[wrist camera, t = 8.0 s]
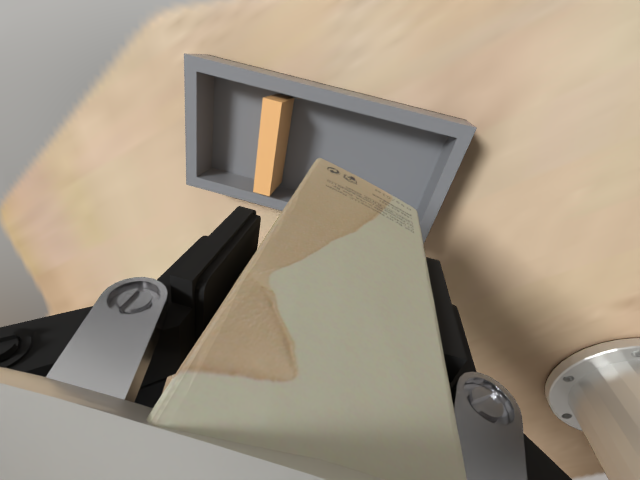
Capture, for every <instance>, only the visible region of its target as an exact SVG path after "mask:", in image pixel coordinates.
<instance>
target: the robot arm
mask: <svg viewBox="0 0 640 480" xmlns="http://www.w3.org/2000/svg"><path fill="white" fill-rule="evenodd" d="M260 221H261V217H260V216H258V215H256V211H255V210H252V209H248V208H245V207H241V206H239V207H237V208H236V209H235V210H234V211H233V212H232V213H231V214H230V215H229V216H228V217H227V218H226V219H225V220H224V221H223V222H222V223H221V224H220V225H219V226H218V227H217V228H216V229H215V230H214V231H213V232H212V233H211V234H210V235H209V236H202V237H201V238H200V239H199V240H198V241H197V242H196V243H195V244H194V245H193V246H191V247H190V248H189V249H188V250H187V251H186V252H185V253H184V254H183V255H182V256H181V257H180V258H179V259H178V260H177V261H176V262H175V263H174V264H173V265H172V266H171V267H170V268H169V269H168V270H167V271H166V272H165V273H164V274H163V275H161V276H160V277H159V278H158V279H157V280H155V279H152V278H146V277H135V278H129V279H125V280H122V281H119V282H117V283H115V284H113V285H111V286H110V287H108V288H107V289H106V290H105V291H104V292H103V293H102V294H101V296H100V297H99V298H98V300H97V301H96V303H95V304H94V306H92V307H87V308H83V309H79V310H74V311H70V312H66V313H61V314H57V315H52V316H48V317H44V318H39V319H35V320H31V321H27V322H22V323H18V324H13V325H9V326H6V327H1V328H0V480H385V479H382V478H378V477H375V476H372V475H369V474H366V473H362V472H359V471H356V470H353V469H350V468H346V467H343V466H340V465H337V464H333V463H330V462H327V461H324V460H320V459H315V458H310V457H306V456H300V455H295V454H290V453H285V452H280V451H275V450H270V449H265V448H260V447H255V446H251V445H246V444H241V443H236V442H231V441H227V440H222V439H217V438H212V437H208V436H203V435H198V434H193V433H188V432H183V431H179V430H173V429H168V428H163V427H158V426H154V425H152V424H150V423H149V422H148V421H147V416H148V415H149V413H150V412H151V410H152V409H153V407H154V406H155V404H156V403H157V401H158V400H159V398H160V397H161V395H162V394H163V392H164V391H165V389H166V388H167V386H168V385H169V383H170V381H171V379H172V375H174V374H176V372H177V371H178V369H179V368H180V366H181V365H182V363H183V362H184V360H185V359H186V357H187V356H188V354H189V353H190V351H191V350H192V348H193V347H194V345H195V344H196V342H197V341H198V339H199V338H200V336H201V335H202V333H203V332H204V330H205V329H206V327H207V325H208V324H209V322H210V321H211V319H212V318H213V316H214V315H215V313H216V312H217V310H218V309H219V307H220V306H221V304H222V303H223V301H224V300H225V298H226V296H227V295H228V293H229V292H230V290H231V289H232V287H233V286H234V284H235V283H236V281H237V279H238V278H239V276H240V275H241V273H242V272H243V270H244V269H245V267H246V266H247V264H248V263H249V261H250V260H251V258H252V257H253V255H254V254H255V252H256V251H257V246H258V237H259V229H260ZM426 261H427V267H428V272H429V278H430V283H431V288H432V293H433V298H434V303H435V309H436V315H437V320H438V326H439V331H440V337H441V343H442V348H443V354H444V359H445V364H446V369H447V374H448V379H449V384H450V390H451V396H452V402H453V407H454V412H455V417H456V423H457V429H458V434H459V439H460V444H461V450H462V455H463V461H464V467H465V472H466V477H467V480H572V479H571V478H570V477H569V476H568V475H567V474H566V473H565V472H563V471H562V470H561V469H560V468H559V467H558V466H557V465H556V464H555V463H554V462H553V461H552V460H551V459H550V458H549V457H548V456H547V455H546V454H545V453H544V452H543V451H542V450H540V449H539V448H538V447H537V446H536V445H535V444H534V443H533V442H532V441H531V440H530V439H529V438H528V437H527V436H526V435H525V434H524V433H523V423H522V415H521V412H520V408H519V406H518V404H517V403H516V401H515V399H514V398H513V396H512V395H511V394H510V393H509V392H508V390H507V389H506V388H504V387H503V386H502V385H501V384H500V383H499V382H497V381H496V380H494V379H492V378H491V377H489V376H487V375H484V374H482V373H477V372H476V369H475V366H474V363H473V359H472V356H471V352H470V349H469V346H468V342H467V339H466V336H465V332H464V329H463V326H462V322H461V319H460V315H459V312H458V309H457V307H456V306H455V305H452V304H451V300H450V296H449V293H448V289H447V286H446V282H445V279H444V275H443V271H442V268H441V264H440V261H438V260H435V259H431V258H427V257H426ZM545 396H546V399H547V401H548V403H549V405H550V407H551V409H552V411H553V413H554V414H555V415H556V416H557V417H558V418H559V419H560V420H562V421H563V422H565V423H566V424H567V425H569V426H572V427H574V428H576V429H578V430H581V431H583V432H584V434H585V436H586V438H587V440H588V442H589V444H590V446H591V447H592V449H593V451H594V453H595V455H596V457H597V459H598V460H599V462H600V464H601V466H602V468H603V470H604V472H605V474H606V475H607V477H608V479H609V480H640V338H629V339H619V340H614V341H609V342H604V343H600V344H597V345H594V346H591V347H588V348H585V349H583V350H581V351H579V352H577V353H575V354H573V355H571V356H570V357H568V358H567V359H565V360H564V361H562V362H561V363H560V364H559V365H558V366H557V367H556V368H555V369H554V370H553V371H552V372H551V374H550V375H549V377H548V379H547V382H546V385H545Z"/></svg>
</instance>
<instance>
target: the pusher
mask: <svg viewBox="0 0 640 480" xmlns="http://www.w3.org/2000/svg"><path fill="white" fill-rule="evenodd" d="M293 104H294V97H290V96H286V95H282V94H278V93H277V94H274V95H270V96H267V97H263V101H262V110H261V120H260V130H259V139H258V149H257V159H256V168H255V178H254V188H253V192H255V193H259V194H262V195H266V196H270V195H271V194H272V193H273V192H274V191H275V189H276V188H277V187H278V186H279V185H280V184H281V182H282V176H283V170H284V163H285V157H286V150H287V144H288V137H289V131H290V124H291V117H292V111H293Z"/></svg>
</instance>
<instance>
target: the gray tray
mask: <svg viewBox="0 0 640 480" xmlns="http://www.w3.org/2000/svg"><path fill="white" fill-rule="evenodd" d="M184 77H185V133H186V184H187V185H190V186H194V187H198V188H201V189H205V190H208V191H212V192H216V193H219V194H223V195H227V196H230V197H234V198H237V199H241V200H245V201H248V202H252V203H256V204H259V205H263V206H266V207H270V208H274V209H277V210H281V211H283V209H284V208H285V206H286V205H287V203H288V202H289V200H290V199H291V197H292V196H293V194H294V193H295V191H296V190H297V188H298V187H299V185H300V184H301V182H302V181H303V179H304V177H305V176H306V174H307V173H308V171H309V169H310V168H311V166H312V165H313V163H314V162H315V161H316V159H318V158H322V159H324V160H326V161H328V162H330V163H332V164H334V165H336V166H338V167H340V168H342V169H344V170H346V171H348V172H350V173H352V174H354V175H356V176H358V177H360V178H362V179H364V180H366V181H367V182H369V183H371V184H373V185H375V186H377V187H378V188H380V189H382V190H384V191H386V192H387V193H389V194H391V195H392V196H394V197H396V198H398V199H400V200H401V201H403V202H404V203H406V204H408V205H410V206H411V207H413V208H414V209H415V210H416V211H417V213H418V218H419V224H420V228H421V234H422V239H423V244H424V242H425V240H426V238H427V236H428V233H429V231H430V229H431V227H432V225H433V222H434V220H435V218H436V216H437V214H438V212H439V209H440V207H441V205H442V203H443V201H444V198H445V196H446V194H447V192H448V190H449V187H450V185H451V183H452V181H453V179H454V177H455V174H456V172H457V170H458V168H459V166H460V163H461V161H462V159H463V157H464V155H465V153H466V150H467V148H468V146H469V144H470V142H471V139H472V137H473V135H474V133H475V131H476V127H475V126H474V125H472V124H471V123H469V122H468V121H467V120H465V119H461V118H457V117H453V116H449V115H445V114H441V113H437V112H433V111H429V110H425V109H421V108H417V107H413V106H409V105H405V104H401V103H397V102H393V101H389V100H386V99H382V98H378V97H374V96H370V95H366V94H362V93H358V92H354V91H350V90H346V89H342V88H338V87H334V86H330V85H326V84H322V83H318V82H314V81H310V80H306V79H302V78H298V77H295V76H291V75H287V74H283V73H279V72H275V71H271V70H267V69H263V68H259V67H255V66H251V65H247V64H243V63H239V62H235V61H231V60H227V59H223V58H219V57H215V56H211V55H204V54H184ZM277 93H278V94H282V95H286V96H290V97H294V104H293V111H292V117H291V124H290V131H289V137H288V144H287V150H286V157H285V163H284V170H283V176H282V182H281V184H280V185H279V186H278V187H277V188H276V189H275V191H274V192H273V193H272V194H271V195H270V196H266V195H262V194H259V193H255V192H253V188H254V178H255V168H256V159H257V149H258V139H259V130H260V120H261V110H262V101H263V97H267V96H270V95H274V94H277Z"/></svg>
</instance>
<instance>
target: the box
mask: <svg viewBox="0 0 640 480" xmlns="http://www.w3.org/2000/svg"><path fill="white" fill-rule="evenodd" d="M147 421H148V422H149V423H150V424H152V425H154V426H158V427H163V428H168V429H173V430H179V431H183V432H188V433H193V434H198V435H203V436H208V437H212V438H217V439H222V440H227V441H231V442H236V443H241V444H246V445H251V446H255V447H260V448H265V449H270V450H275V451H280V452H285V453H290V454H295V455H300V456H306V457H310V458H315V459H320V460H324V461H327V462H330V463H333V464H337V465H340V466H343V467H346V468H350V469H353V470H356V471H359V472H362V473H366V474H369V475H372V476H375V477H378V478H382V479H385V480H467V477H466V472H465V467H464V461H463V455H462V450H461V444H460V439H459V434H458V429H457V423H456V417H455V412H454V407H453V402H452V396H451V390H450V384H449V379H448V374H447V369H446V364H445V359H444V354H443V348H442V343H441V337H440V331H439V326H438V320H437V315H436V309H435V303H434V298H433V293H432V288H431V283H430V278H429V272H428V267H427V261H426V255H425V251H424V244H423V239H422V234H421V228H420V224H419V218H418V213H417V211H416V210H415V209H414V208H413V207H411V206H410V205H408V204H406V203H404V202H403V201H401V200H400V199H398V198H396V197H394V196H392V195H391V194H389V193H387V192H386V191H384V190H382V189H380V188H378V187H377V186H375V185H373V184H371V183H369V182H367V181H366V180H364V179H362V178H360V177H358V176H356V175H354V174H352V173H350V172H348V171H346V170H344V169H342V168H340V167H338V166H336V165H334V164H332V163H330V162H328V161H326V160H324V159H322V158H318V159H316V161H315V162H314V163H313V165H312V166H311V168H310V169H309V171H308V173H307V174H306V176H305V177H304V179H303V181H302V182H301V184H300V185H299V187H298V188H297V190H296V191H295V193H294V194H293V196H292V197H291V199H290V200H289V202H288V203H287V205H286V206H285V208H284V209H283V211H282V212H281V214H280V215H279V217H278V218H277V220H276V221H275V223H274V224H273V226H272V227H271V229H270V231H269V232H268V234H267V235H266V237H265V238H264V240H263V241H262V243H261V244H260V246H259V248H258V249H257V251H256V252H255V254H254V255H253V257H252V258H251V260H250V261H249V263H248V264H247V266H246V267H245V269H244V270H243V272H242V273H241V275H240V276H239V278H238V279H237V281H236V283H235V284H234V286H233V287H232V289H231V290H230V292H229V293H228V295H227V296H226V298H225V300H224V301H223V303H222V304H221V306H220V307H219V309H218V310H217V312H216V313H215V315H214V316H213V318H212V319H211V321H210V322H209V324H208V325H207V327H206V329H205V330H204V332H203V333H202V335H201V336H200V338H199V339H198V341H197V342H196V344H195V345H194V347H193V348H192V350H191V351H190V353H189V354H188V356H187V357H186V359H185V360H184V362H183V363H182V365H181V366H180V368H179V369H178V371H177V372H176V374H175V375H174V377H173V378H172V380H171V381H170V383H169V385H168V386H167V388H166V389H165V391H164V392H163V394H162V395H161V397H160V398H159V400H158V401H157V403H156V404H155V406H154V407H153V409H152V410H151V412H150V413H149V415H148V416H147Z"/></svg>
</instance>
